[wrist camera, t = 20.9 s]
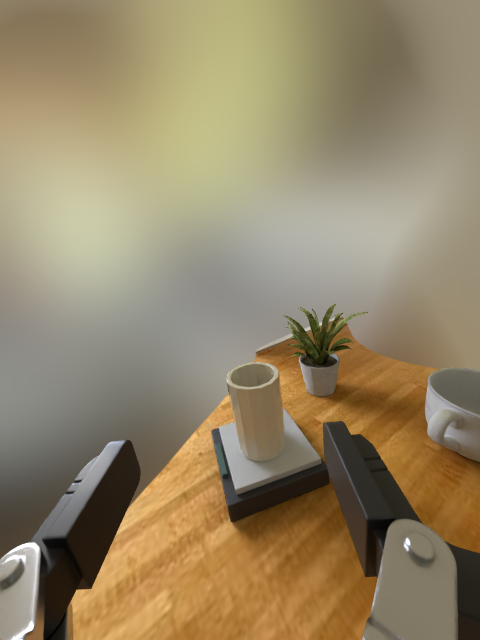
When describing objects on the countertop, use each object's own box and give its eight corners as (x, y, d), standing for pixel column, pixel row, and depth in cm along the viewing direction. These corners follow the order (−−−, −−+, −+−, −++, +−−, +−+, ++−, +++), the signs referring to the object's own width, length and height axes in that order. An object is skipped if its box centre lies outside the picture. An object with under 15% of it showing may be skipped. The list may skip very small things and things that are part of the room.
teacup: (467, 408, 37) (474, 360, 34) (573, 469, 26) (594, 406, 24) (383, 431, 35) (385, 382, 33) (463, 506, 25) (473, 442, 22)
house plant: (357, 367, 52) (356, 291, 47) (380, 409, 39) (383, 311, 34) (288, 369, 55) (281, 299, 50) (289, 410, 42) (280, 320, 37)
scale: (231, 522, 26) (226, 501, 25) (213, 442, 37) (209, 425, 36) (329, 483, 29) (328, 462, 28) (285, 419, 40) (283, 403, 39)
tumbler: (246, 469, 29) (233, 395, 26) (233, 432, 34) (222, 369, 32) (294, 452, 30) (287, 380, 27) (274, 419, 36) (267, 357, 33)
